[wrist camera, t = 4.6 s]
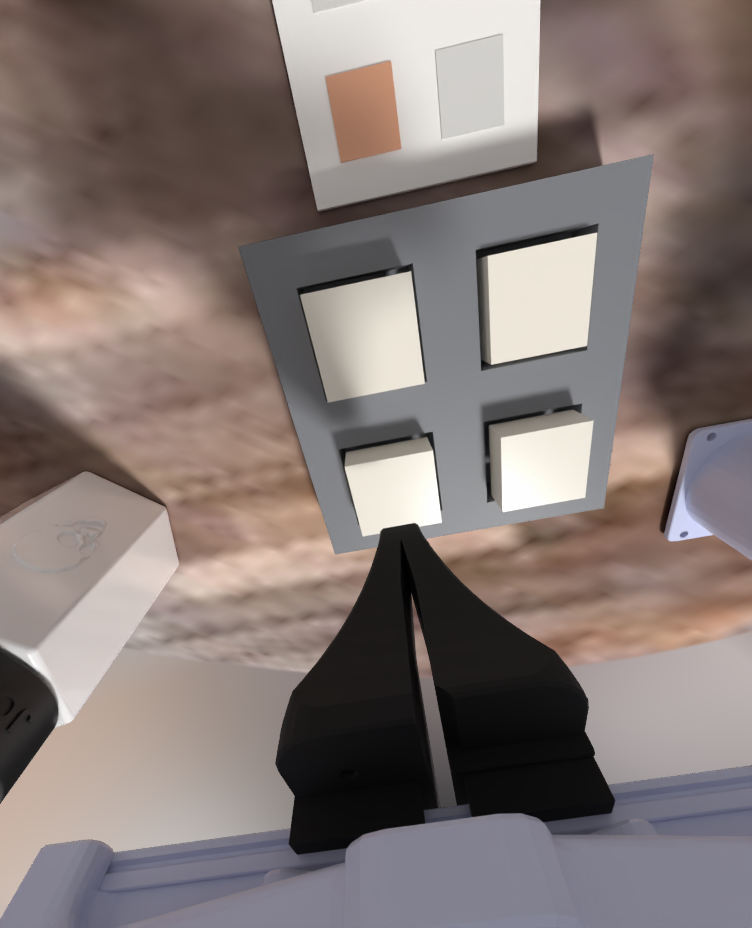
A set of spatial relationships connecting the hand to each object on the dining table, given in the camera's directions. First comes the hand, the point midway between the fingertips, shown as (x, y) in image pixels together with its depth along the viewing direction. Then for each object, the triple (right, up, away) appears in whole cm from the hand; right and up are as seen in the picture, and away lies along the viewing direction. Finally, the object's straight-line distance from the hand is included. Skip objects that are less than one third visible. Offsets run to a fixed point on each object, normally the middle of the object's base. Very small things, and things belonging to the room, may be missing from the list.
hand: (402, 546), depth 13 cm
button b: (+7, +4, +4) cm, 9 cm away
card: (0, +18, -1) cm, 19 cm away
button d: (0, +2, +5) cm, 5 cm away
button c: (-1, +8, +2) cm, 9 cm away
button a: (+5, +10, +2) cm, 12 cm away
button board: (+3, +7, +5) cm, 9 cm away
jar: (-18, -1, +9) cm, 20 cm away
